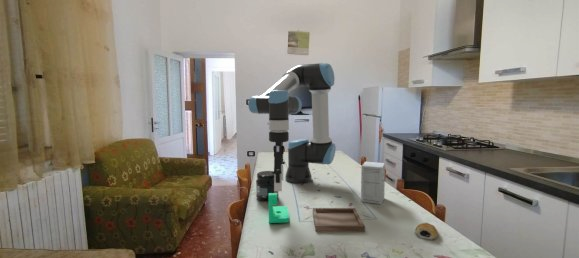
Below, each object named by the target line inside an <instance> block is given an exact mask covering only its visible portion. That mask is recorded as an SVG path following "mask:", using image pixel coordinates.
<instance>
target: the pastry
mask: <svg viewBox="0 0 579 258" xmlns="http://www.w3.org/2000/svg"><path fill="white" fill-rule="evenodd" d="M414 235H415V236H416V237H418V238H420V239H424V240H428V241H429V240H430V241H433V240H436V239H437V238H438V230H437V228H436V226H435V225H433V224H431V223H428V222H424V223H419V224H418V225H417V226H416V227H415V232H414Z"/></svg>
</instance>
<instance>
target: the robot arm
mask: <svg viewBox="0 0 579 258" xmlns="http://www.w3.org/2000/svg"><path fill="white" fill-rule="evenodd" d="M334 85H335V73H334V69H333V67H332V65H331V64H330V63H327V62H325V63H323V62H320V63H306V64H304V63H303V64H299V65H296V66H294V67H292V68H290V69H288V71H285V73H284V74H282V77H281V78H280V79H279V80H278V81H276V83H274V84H273V85H272V86H270V87H269V88H268V89H267V90H265V91H264V92H263V93H262V94H261V95H252V96H251V97H249V100H248V103H247V105H248V110H249V111H250V113H252V114H258V115H260V114H261V115H263V114H264V115H265V114H266V115H268V122H267V125H269V126H268V130H269V132H268V141H269V142H270V143H275V144H274V145H273V148H272V149H273V159H274V160H273V171H274V172H272V174H274V191H278V192H282V191H283V187H282V186H283V184H282V182H283V181H284V179H285V181H286V182H288V183H293V184H304V183H305V184H306V183H308V182H309V183H310V182H311V181H312V178H313V177H312V173H311V170H310V167H309V166H310V165H309V164H318V165H331V163H333V162H334V158H335V156H336V155H335V154H336V149H337V148H336V147H337V146H336V144H335V143H333V139H332V138H331V137H330V131H329V130H330V128H329V127H330V125H329V124H330V122H329V121H330V119H329V92H330V91H331V89H332V87H333V86H334ZM299 87H301V88H302V87H307V88H308V91H309V92H310V93H311V111H312V113H311V115H312V138H311V139H310V140H309V139H308V138H301V139H294V140H289V135H290V133H289V130H290V126H289V125H290V124H289V123H290V120H289V119H290V118H289V117H290V115H295V114H298V113H299V112H300V111H301V110H302V108H303V107H302V106H303V103H302V100H301V99H300V98H299V97H298V96H296V95H289V93H290V92H291V91H292V90H296V89H298V88H299ZM287 142H288V144H287V145H288V146H287V153H288V156H287V158H288V160H287V163H288V164H287V169H286V172H285V177H284V165H285V164H286V162H285V161H284V151H285V145H283V144H284V143H287Z"/></svg>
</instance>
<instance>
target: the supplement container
mask: <svg viewBox="0 0 579 258" xmlns="http://www.w3.org/2000/svg"><path fill="white" fill-rule="evenodd" d="M272 172H274V170H263V171H260V172H259V171H258V172H257V174H256V178H257V179H256V181H255V183H256V184H255V185H256V186H255V187H256V192H255V193H256V194H255V195H256V199H257V200H258V201H261V202H269V193H277V199H278V198H279V191H274V174H272Z"/></svg>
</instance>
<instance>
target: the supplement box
mask: <svg viewBox="0 0 579 258" xmlns="http://www.w3.org/2000/svg"><path fill="white" fill-rule="evenodd" d="M385 168H386V163H385V162H374V161H364V163H362V165H361V172H360V174H361V177H360V178H361V180H360V187H361V188H360V202H364V203H369V204H370V203H371V204H378V205H383V203H384V200H385V179H386V178H385V177H386V176H385V175H386V174H385V173H386V169H385Z"/></svg>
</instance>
